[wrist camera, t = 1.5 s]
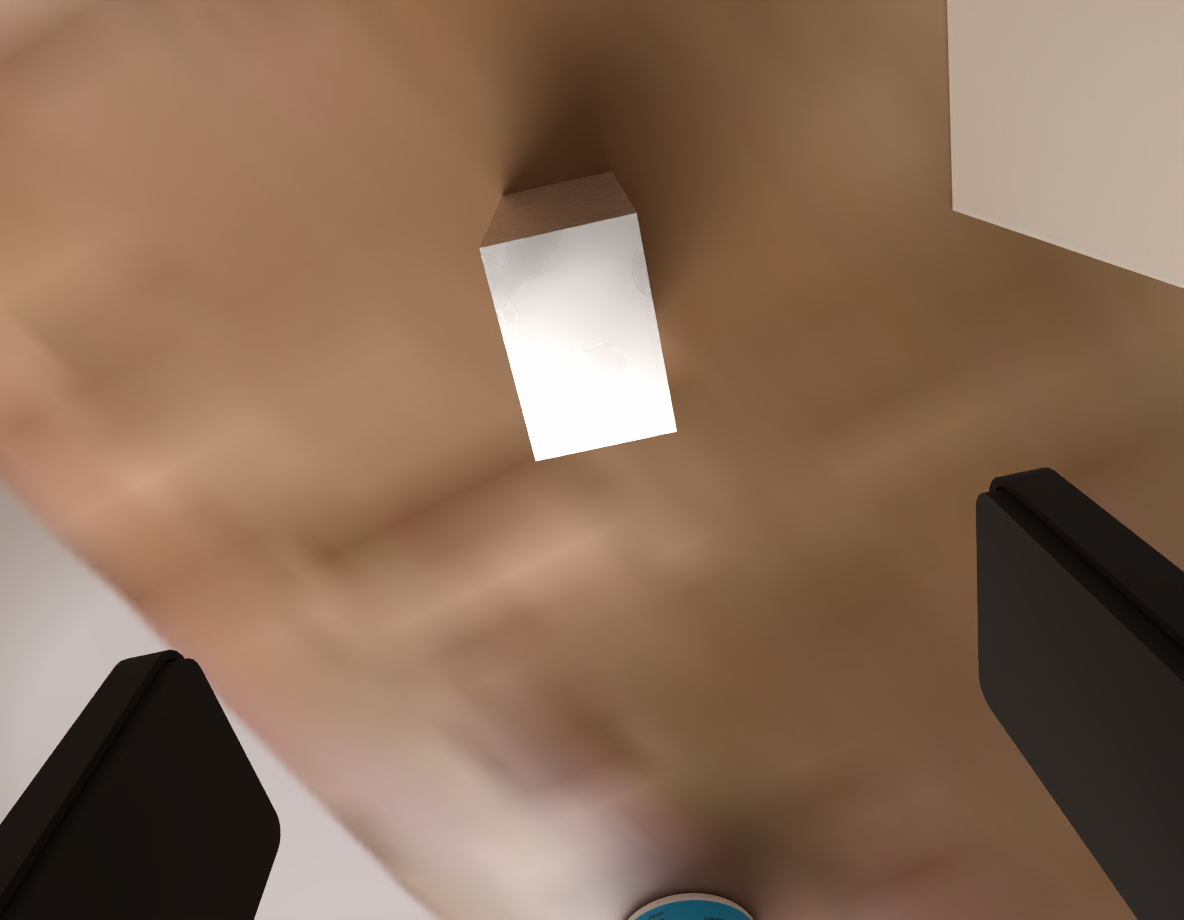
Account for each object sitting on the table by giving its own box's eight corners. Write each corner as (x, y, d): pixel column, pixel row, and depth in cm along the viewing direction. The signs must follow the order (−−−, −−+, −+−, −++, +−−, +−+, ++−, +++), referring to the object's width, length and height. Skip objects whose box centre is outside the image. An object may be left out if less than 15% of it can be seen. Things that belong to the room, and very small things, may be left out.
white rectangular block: (611, 170, 30) (636, 212, 21) (642, 330, 32) (676, 431, 23) (502, 195, 30) (479, 248, 21) (541, 352, 32) (535, 461, 23)
